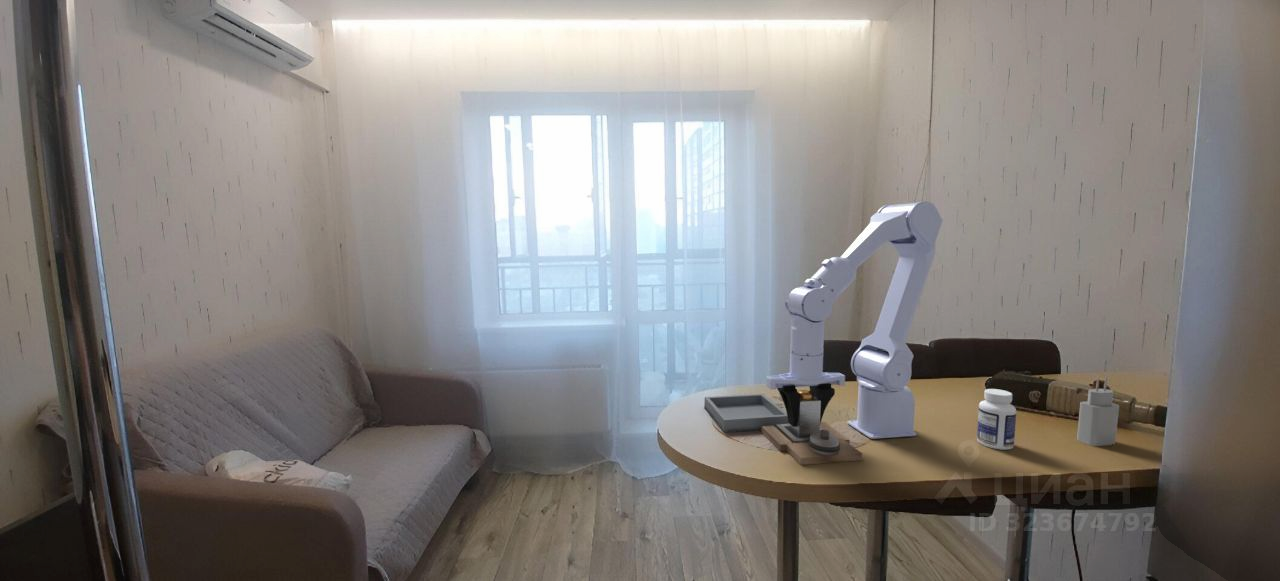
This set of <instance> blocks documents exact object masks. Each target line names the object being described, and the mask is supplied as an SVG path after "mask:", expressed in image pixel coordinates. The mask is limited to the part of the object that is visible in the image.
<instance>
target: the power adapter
mask: <svg viewBox="0 0 1280 581" xmlns="http://www.w3.org/2000/svg"><path fill="white" fill-rule="evenodd" d="M1099 382H1100V379H1099V378H1098V377H1097V378H1096V384H1095V388H1092V389H1091V388H1089V389H1088V391H1087V392H1088V394H1087V401H1086V400H1085V401H1080V402H1079V411H1078V412H1079V413H1078V414H1079V415H1078V425H1077V435H1076V441H1078V442H1080V443H1083V444H1086V445H1088V446H1091V447H1101V446H1102V447H1103V446H1113V445H1116V440H1117V429H1118V420H1119V409H1120V405H1119V404H1116V403H1113V396H1114V391H1113V390H1111V389H1107V386H1108V383H1107V382H1108V377H1105V378H1104V384H1103V388H1099V385H1100V383H1099ZM1112 444H1113V445H1112Z"/></svg>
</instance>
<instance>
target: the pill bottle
mask: <svg viewBox="0 0 1280 581" xmlns="http://www.w3.org/2000/svg"><path fill="white" fill-rule="evenodd" d="M983 396H984V399H985V400H981V401H980V402H979V403H978V413H977V417H978V418H977V430H976V431H977V432H976V439H977V442H978V443H979V444H980V445H982V446H984V447H987V448H991V449H995V450H1003V451H1007V450H1012V449H1014V446H1015V438H1016V436H1015V435H1016V423H1017V420H1016V419H1017V409H1016V407H1015V406H1014V404H1011V403H1012V401H1013V393H1012V392H1010V391H1008V390H1003V389H997V388H986V389H985V390H984V394H983Z"/></svg>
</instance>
